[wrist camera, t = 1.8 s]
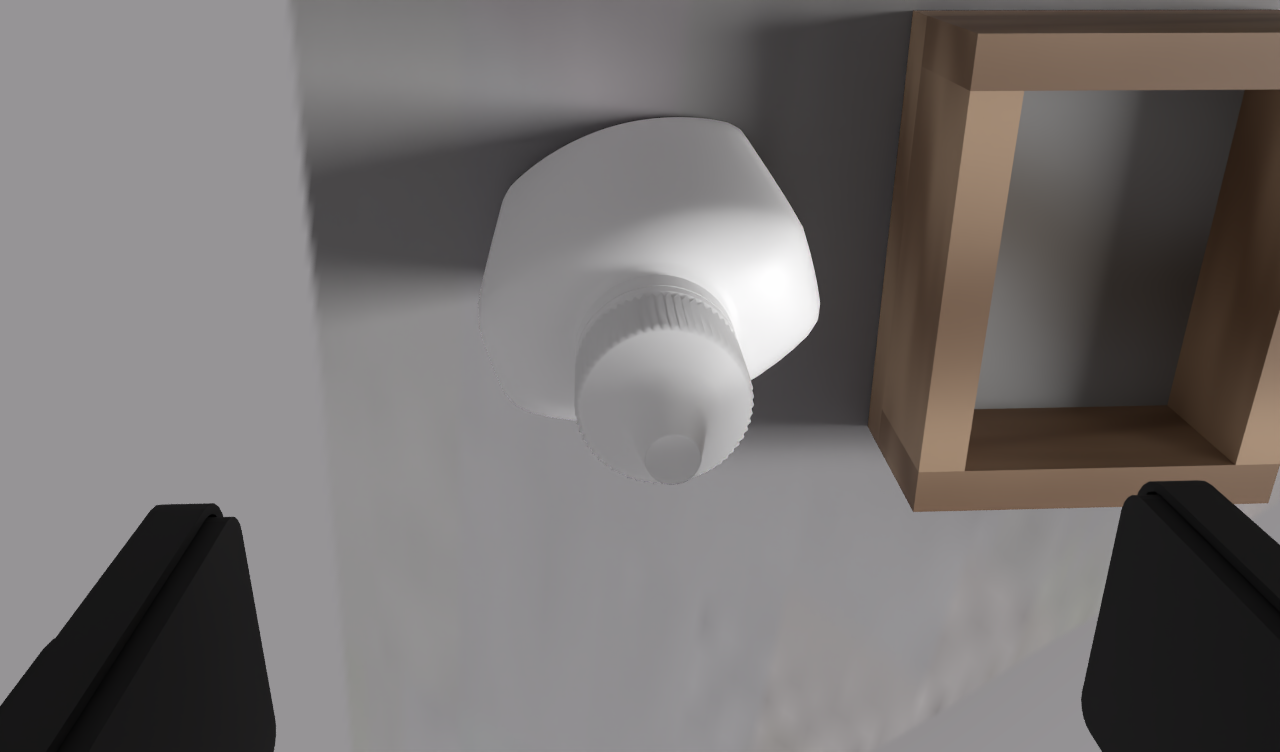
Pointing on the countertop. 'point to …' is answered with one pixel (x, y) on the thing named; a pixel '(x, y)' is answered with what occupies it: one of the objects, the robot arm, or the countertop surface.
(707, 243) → the eye dropper bottle
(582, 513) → the countertop surface
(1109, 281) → the bottle holder
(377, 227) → the countertop surface
